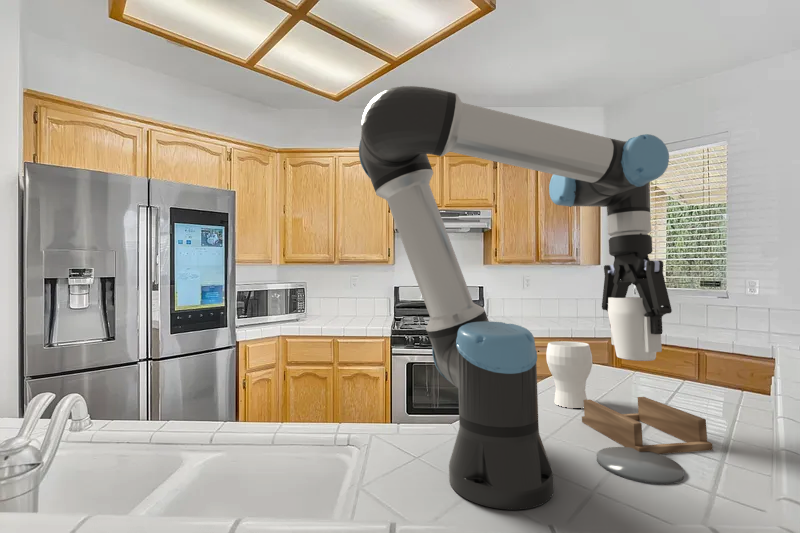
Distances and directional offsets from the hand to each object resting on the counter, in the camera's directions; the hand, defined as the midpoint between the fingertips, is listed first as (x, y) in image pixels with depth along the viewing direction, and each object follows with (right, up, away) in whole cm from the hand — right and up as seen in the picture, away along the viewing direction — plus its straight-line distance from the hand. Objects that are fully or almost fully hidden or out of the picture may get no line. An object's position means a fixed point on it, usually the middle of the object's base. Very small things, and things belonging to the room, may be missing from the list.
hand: (635, 347), depth 76 cm
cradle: (0, -17, -1) cm, 17 cm away
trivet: (-8, -16, -14) cm, 23 cm away
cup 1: (-4, -18, +19) cm, 27 cm away
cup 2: (0, -2, 0) cm, 2 cm away
